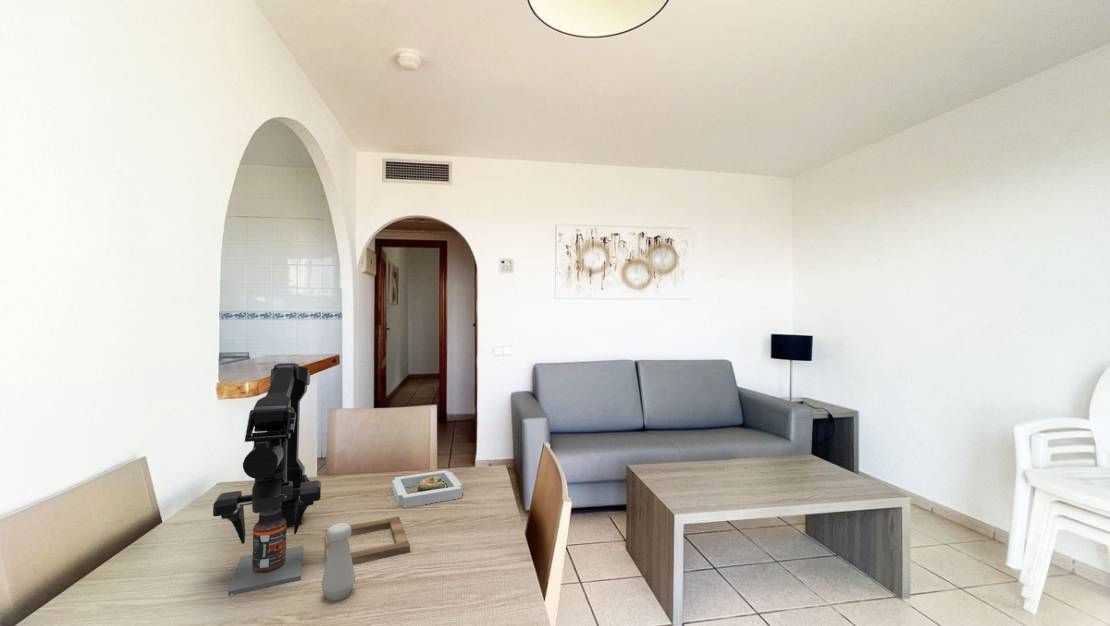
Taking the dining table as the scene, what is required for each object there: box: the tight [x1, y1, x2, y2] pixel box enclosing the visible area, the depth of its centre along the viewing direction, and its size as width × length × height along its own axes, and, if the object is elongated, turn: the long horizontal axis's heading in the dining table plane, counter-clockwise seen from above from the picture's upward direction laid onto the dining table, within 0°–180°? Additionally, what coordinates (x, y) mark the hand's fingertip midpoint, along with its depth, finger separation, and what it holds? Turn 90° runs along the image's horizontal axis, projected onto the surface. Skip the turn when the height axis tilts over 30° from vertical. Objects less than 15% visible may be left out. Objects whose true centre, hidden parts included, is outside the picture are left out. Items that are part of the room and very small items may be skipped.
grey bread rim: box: [391, 469, 464, 510], centre depth 138 cm, size 18×18×3 cm
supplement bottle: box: [252, 508, 287, 572], centre depth 95 cm, size 6×6×11 cm
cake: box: [416, 475, 446, 493], centre depth 138 cm, size 10×10×5 cm
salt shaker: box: [321, 522, 356, 602], centre depth 86 cm, size 6×6×13 cm
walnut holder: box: [325, 516, 411, 565], centre depth 106 cm, size 17×17×2 cm
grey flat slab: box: [227, 544, 304, 596], centre depth 95 cm, size 14×12×1 cm
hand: (269, 538), depth 95 cm, fingers open, 9 cm apart
